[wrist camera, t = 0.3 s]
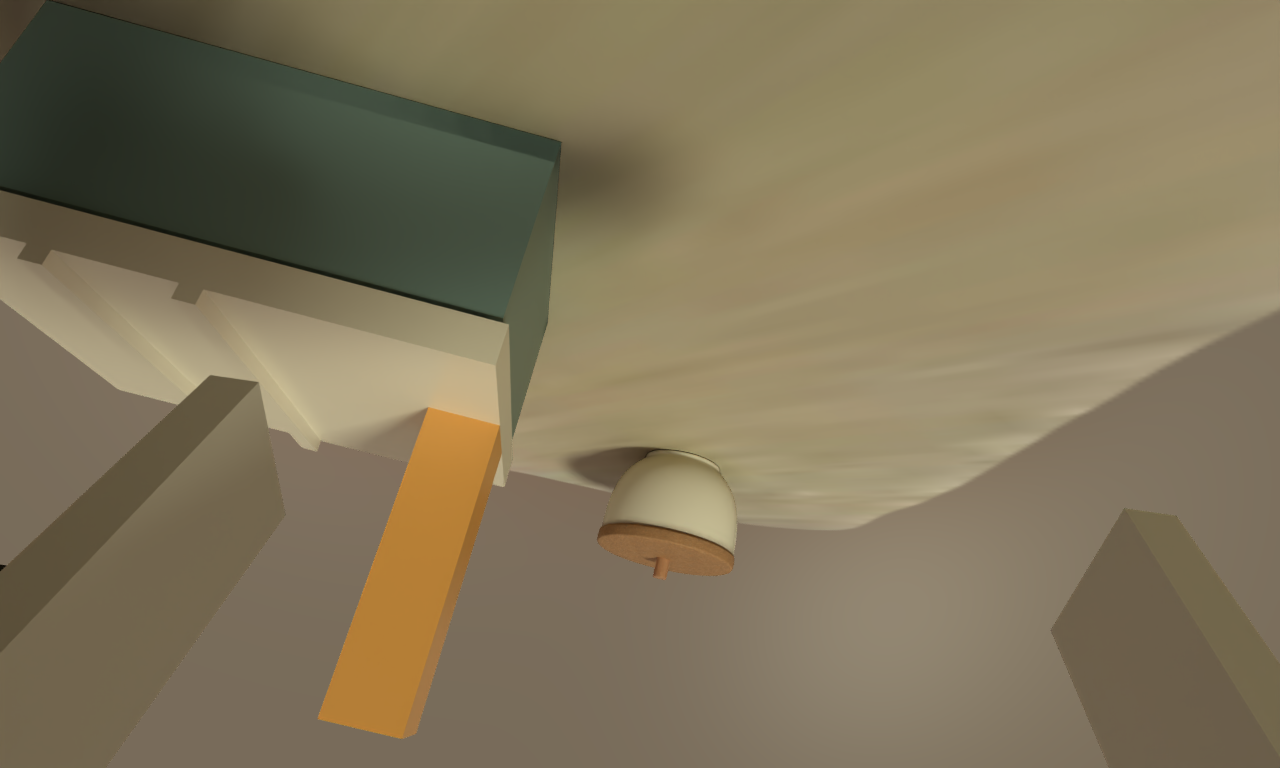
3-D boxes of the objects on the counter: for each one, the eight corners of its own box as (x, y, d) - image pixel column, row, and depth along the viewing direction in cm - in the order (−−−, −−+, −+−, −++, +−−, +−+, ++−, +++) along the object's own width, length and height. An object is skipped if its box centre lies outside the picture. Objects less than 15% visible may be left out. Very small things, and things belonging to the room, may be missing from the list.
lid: (-97, 164, 26) (-403, 570, 20) (508, 324, 27) (369, 751, 21) (133, 362, 41) (-7, 623, 36) (512, 459, 42) (432, 727, 37)
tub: (46, -1, 29) (-76, 165, 26) (561, 142, 30) (503, 318, 27) (205, 232, 44) (138, 356, 41) (547, 323, 45) (508, 451, 42)
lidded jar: (752, 453, 57) (731, 579, 54) (745, 494, 67) (726, 603, 63) (612, 428, 59) (582, 548, 55) (625, 472, 69) (600, 576, 65)
